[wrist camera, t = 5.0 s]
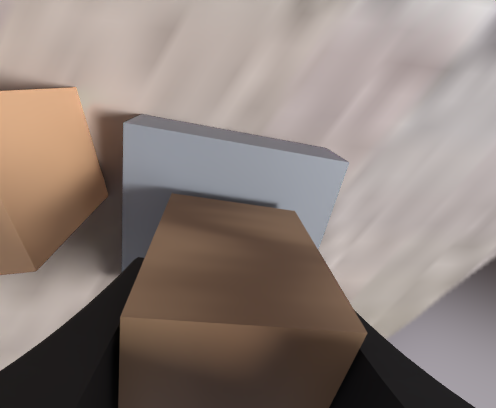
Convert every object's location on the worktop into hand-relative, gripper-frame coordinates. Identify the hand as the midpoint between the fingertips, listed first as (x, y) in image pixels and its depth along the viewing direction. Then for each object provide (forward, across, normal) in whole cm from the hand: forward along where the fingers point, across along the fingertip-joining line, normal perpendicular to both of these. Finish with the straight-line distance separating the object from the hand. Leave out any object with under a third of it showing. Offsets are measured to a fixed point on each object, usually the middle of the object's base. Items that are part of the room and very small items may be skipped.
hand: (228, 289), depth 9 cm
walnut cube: (+2, 0, 0) cm, 2 cm away
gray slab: (+6, 0, 0) cm, 6 cm away
